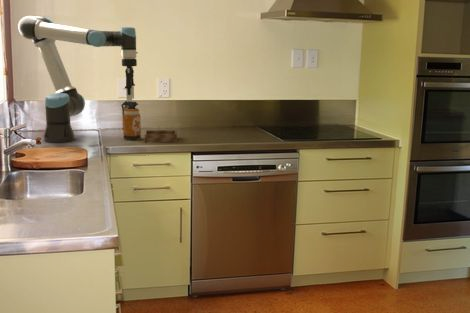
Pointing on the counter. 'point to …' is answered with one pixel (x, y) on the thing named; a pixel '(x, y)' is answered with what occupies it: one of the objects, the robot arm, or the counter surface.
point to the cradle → (161, 136)
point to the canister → (131, 121)
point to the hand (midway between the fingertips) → (130, 100)
